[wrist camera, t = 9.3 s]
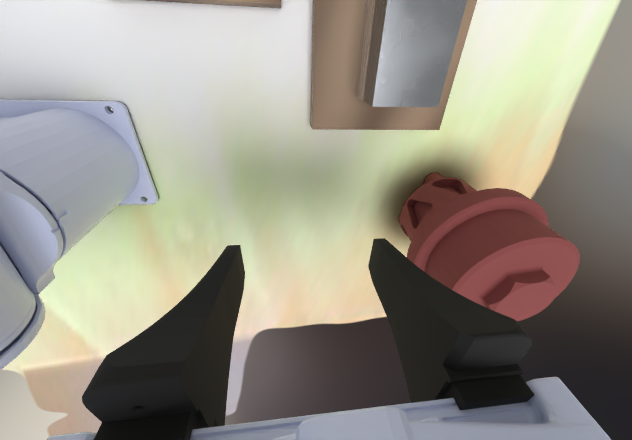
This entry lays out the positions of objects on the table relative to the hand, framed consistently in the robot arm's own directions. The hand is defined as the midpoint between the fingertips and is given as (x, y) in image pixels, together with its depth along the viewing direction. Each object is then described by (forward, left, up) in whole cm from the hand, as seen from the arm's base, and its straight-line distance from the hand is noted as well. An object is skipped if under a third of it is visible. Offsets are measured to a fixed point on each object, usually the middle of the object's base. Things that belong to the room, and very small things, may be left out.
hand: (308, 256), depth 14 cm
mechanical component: (+13, -3, -11) cm, 17 cm away
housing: (+6, +10, -9) cm, 15 cm away
